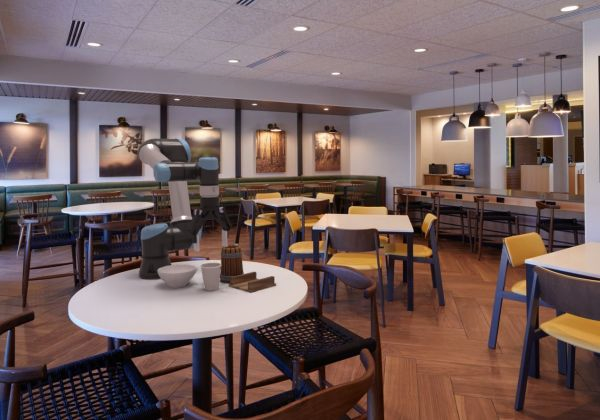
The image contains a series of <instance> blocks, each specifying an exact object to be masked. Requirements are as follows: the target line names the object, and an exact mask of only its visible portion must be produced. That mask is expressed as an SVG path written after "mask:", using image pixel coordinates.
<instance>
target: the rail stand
mask: <svg viewBox="0 0 600 420" xmlns="http://www.w3.org/2000/svg"><path fill="white" fill-rule="evenodd" d="M275 278H276V277H275V276H274V275H271V276H267V277H263V278H257V271H251V272H247V273H244V274H242V275H238V276H233V277H230V283H228V287H229V288H233V289H236V290H240V291H243V292H246V293H254V292H258V291H261V290H265V289H269V288H272V287H276V286H277V283H275Z"/></svg>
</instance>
